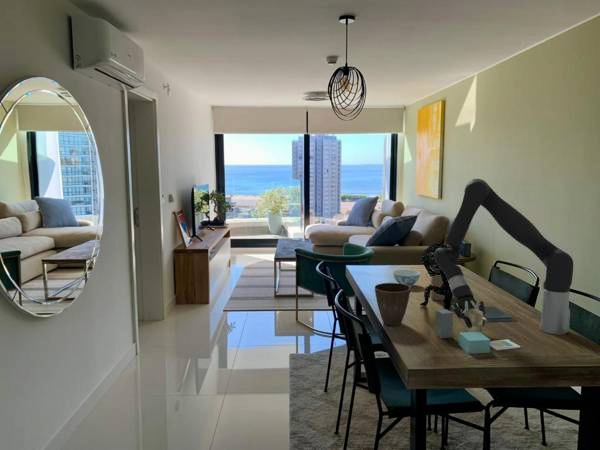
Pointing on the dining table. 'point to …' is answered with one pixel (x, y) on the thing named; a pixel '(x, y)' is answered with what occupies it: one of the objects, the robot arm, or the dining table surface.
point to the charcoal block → (444, 323)
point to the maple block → (475, 320)
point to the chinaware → (406, 277)
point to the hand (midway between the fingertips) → (476, 326)
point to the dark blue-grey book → (496, 315)
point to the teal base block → (474, 342)
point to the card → (503, 345)
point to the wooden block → (438, 282)
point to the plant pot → (392, 302)
